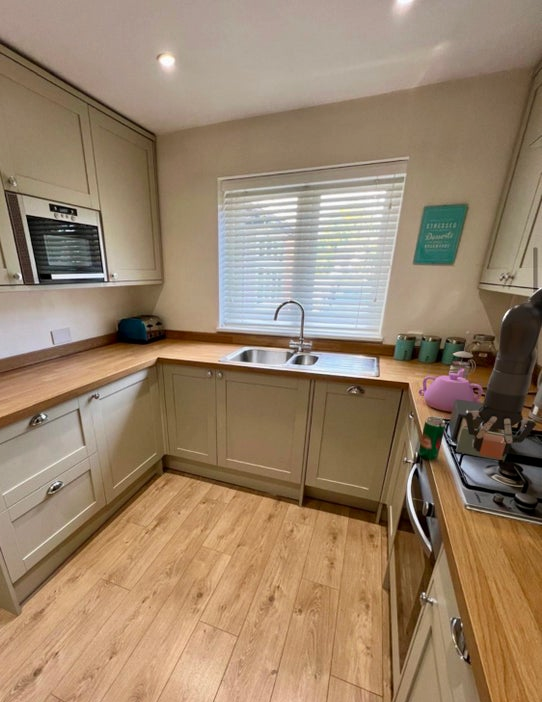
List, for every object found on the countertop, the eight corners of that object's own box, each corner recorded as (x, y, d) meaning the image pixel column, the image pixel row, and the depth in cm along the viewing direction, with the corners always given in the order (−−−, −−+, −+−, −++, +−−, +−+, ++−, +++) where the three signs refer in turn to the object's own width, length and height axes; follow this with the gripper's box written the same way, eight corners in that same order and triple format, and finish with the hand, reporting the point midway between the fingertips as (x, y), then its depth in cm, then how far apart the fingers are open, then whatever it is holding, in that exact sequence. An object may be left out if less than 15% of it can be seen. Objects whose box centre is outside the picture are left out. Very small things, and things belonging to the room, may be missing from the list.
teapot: (485, 404, 135) (495, 372, 130) (474, 420, 120) (484, 384, 115) (426, 392, 149) (432, 362, 144) (410, 405, 135) (416, 372, 130)
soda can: (413, 453, 99) (421, 416, 95) (429, 452, 100) (438, 415, 96) (424, 461, 95) (433, 424, 90) (441, 460, 95) (450, 423, 91)
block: (498, 451, 85) (502, 436, 83) (501, 459, 81) (505, 443, 80) (477, 447, 87) (481, 432, 86) (479, 455, 84) (483, 439, 82)
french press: (454, 378, 169) (467, 328, 160) (476, 385, 158) (491, 332, 149) (440, 380, 166) (451, 330, 157) (461, 387, 155) (475, 334, 147)
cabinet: (499, 450, 100) (509, 421, 97) (451, 441, 106) (458, 413, 103) (492, 431, 112) (500, 405, 109) (448, 424, 118) (455, 399, 115)
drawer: (507, 469, 89) (515, 443, 87) (457, 458, 95) (463, 434, 92) (496, 441, 104) (503, 418, 101) (453, 433, 109) (458, 412, 106)
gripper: (542, 388, 78) (522, 452, 84) (469, 380, 85) (455, 440, 91) (551, 398, 72) (528, 466, 78) (472, 389, 79) (456, 452, 85)
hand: (489, 451), depth 84 cm, fingers closed on block, 4 cm apart
